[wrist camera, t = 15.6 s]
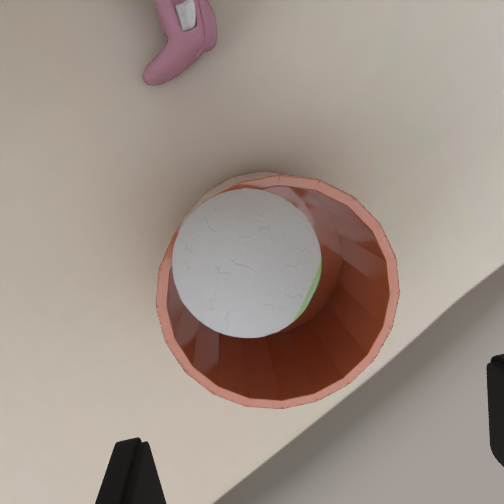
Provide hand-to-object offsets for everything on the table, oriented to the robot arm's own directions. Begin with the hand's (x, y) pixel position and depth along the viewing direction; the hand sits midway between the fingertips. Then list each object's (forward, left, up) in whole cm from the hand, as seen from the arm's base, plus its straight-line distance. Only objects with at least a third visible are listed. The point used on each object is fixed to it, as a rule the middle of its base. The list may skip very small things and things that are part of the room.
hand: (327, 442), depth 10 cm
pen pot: (+1, 0, -21) cm, 21 cm away
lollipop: (0, 0, -21) cm, 21 cm away
